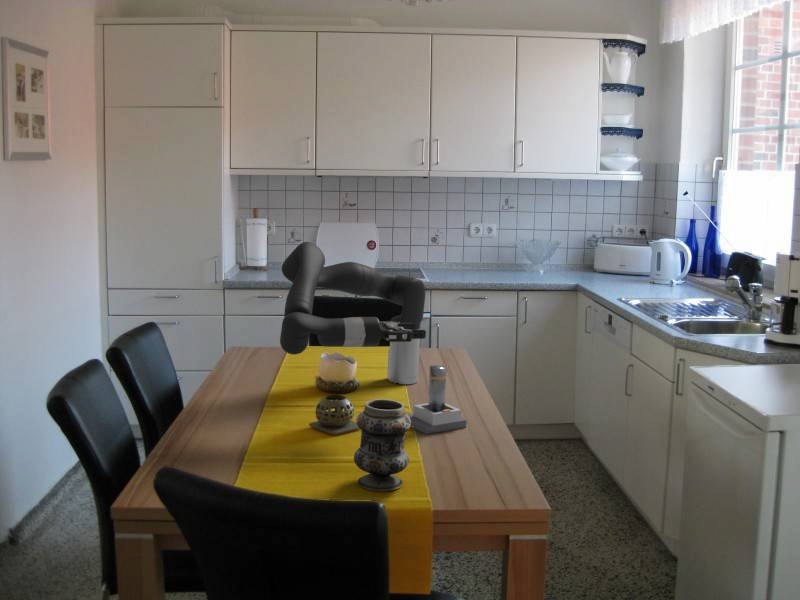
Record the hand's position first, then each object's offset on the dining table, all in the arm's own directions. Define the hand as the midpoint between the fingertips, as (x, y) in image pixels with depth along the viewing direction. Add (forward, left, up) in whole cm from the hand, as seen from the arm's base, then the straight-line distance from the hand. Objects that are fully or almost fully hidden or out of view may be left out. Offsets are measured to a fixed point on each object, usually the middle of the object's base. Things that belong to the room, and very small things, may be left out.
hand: (419, 330), depth 229 cm
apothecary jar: (+30, -29, -26) cm, 49 cm away
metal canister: (+2, +6, -24) cm, 25 cm away
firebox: (+1, +6, -26) cm, 27 cm away
